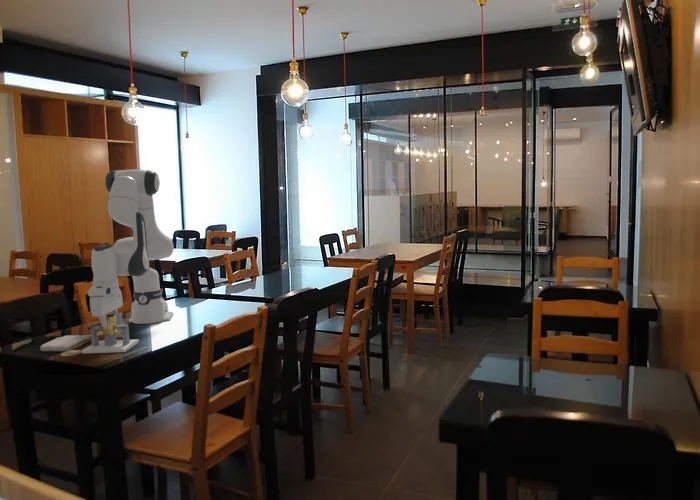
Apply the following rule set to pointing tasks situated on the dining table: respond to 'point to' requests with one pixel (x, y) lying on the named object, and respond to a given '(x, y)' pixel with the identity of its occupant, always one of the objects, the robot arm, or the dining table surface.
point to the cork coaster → (71, 353)
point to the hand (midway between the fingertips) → (109, 323)
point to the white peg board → (110, 341)
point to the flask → (119, 323)
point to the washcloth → (65, 343)
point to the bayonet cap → (110, 326)
